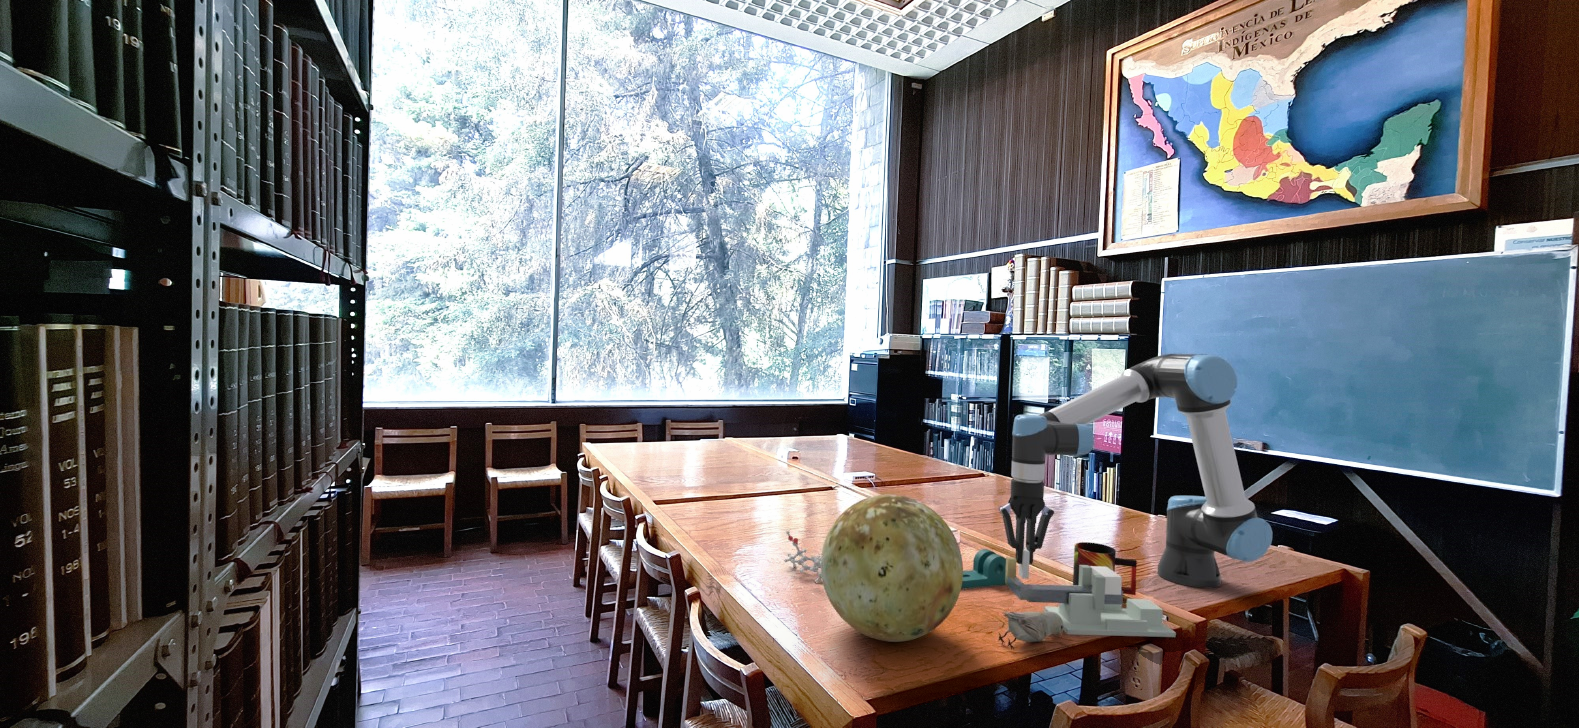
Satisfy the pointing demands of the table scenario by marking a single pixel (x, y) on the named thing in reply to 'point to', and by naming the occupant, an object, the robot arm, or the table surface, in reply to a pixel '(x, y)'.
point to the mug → (1101, 561)
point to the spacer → (1108, 579)
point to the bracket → (985, 570)
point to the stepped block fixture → (1108, 613)
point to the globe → (891, 568)
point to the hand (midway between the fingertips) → (1023, 576)
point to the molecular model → (804, 558)
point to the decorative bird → (1032, 626)
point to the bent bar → (1047, 589)
